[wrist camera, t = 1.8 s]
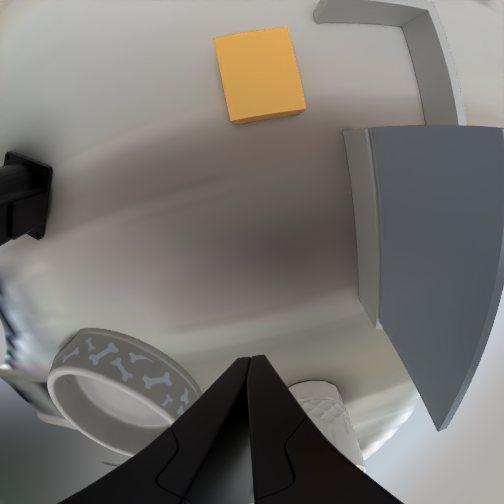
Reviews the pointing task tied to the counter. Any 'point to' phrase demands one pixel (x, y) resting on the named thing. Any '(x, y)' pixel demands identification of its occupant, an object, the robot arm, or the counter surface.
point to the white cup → (329, 417)
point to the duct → (358, 141)
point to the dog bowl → (119, 389)
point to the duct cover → (440, 251)
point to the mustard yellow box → (260, 75)
